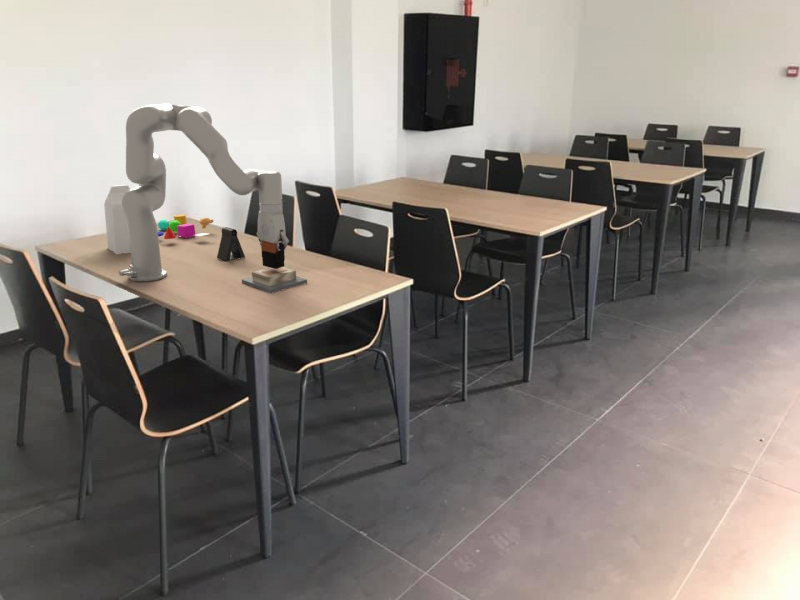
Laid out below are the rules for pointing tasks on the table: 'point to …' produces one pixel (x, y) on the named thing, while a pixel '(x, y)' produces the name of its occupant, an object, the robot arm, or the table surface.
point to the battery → (270, 255)
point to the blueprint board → (277, 286)
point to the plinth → (273, 275)
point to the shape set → (181, 227)
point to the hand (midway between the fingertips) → (273, 258)
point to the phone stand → (229, 245)
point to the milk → (116, 220)
